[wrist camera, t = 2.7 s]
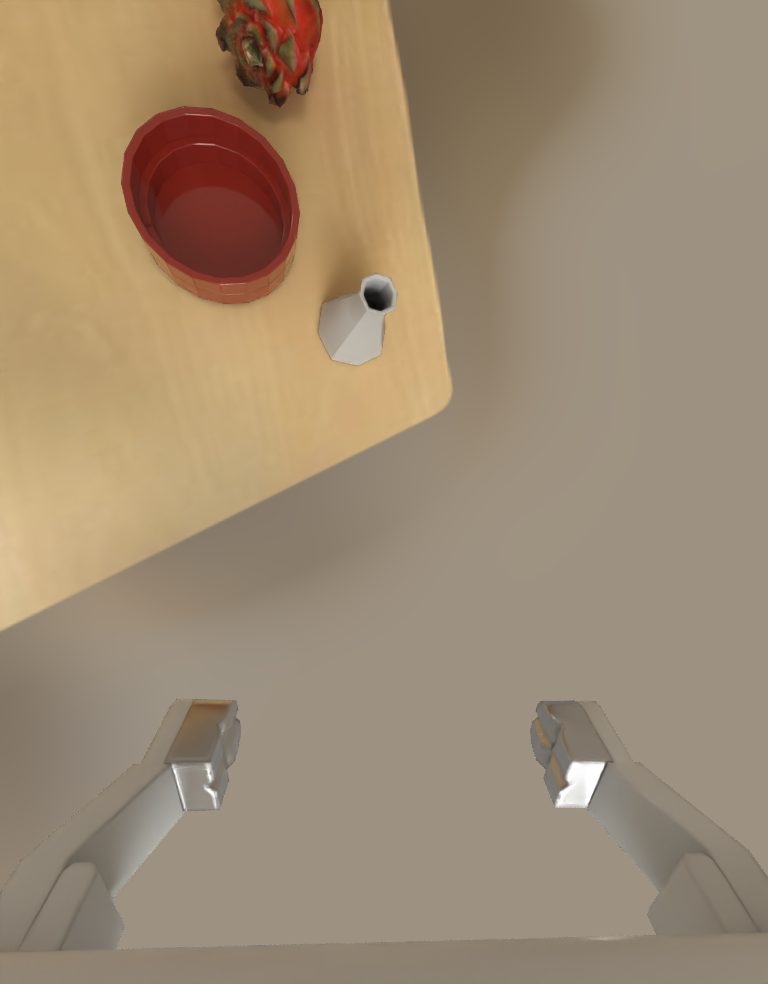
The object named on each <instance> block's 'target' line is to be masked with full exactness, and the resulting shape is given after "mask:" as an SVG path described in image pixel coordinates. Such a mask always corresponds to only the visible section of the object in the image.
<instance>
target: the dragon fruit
mask: <svg viewBox="0 0 768 984" xmlns="http://www.w3.org/2000/svg"><path fill="white" fill-rule="evenodd" d="M218 2H219V3H220V5H221V8H222V10H223V11H224V13H225V14H226V15H225V16H224V17H223V19H222V21H221V22H220V26H219V27H218V28H217V30H216V37H217V39H218V43H219V45H220V47H221V49H222V51H225V50H228V51H230V52H231V53H232V55H234V56H235V66H236V71H237V76H238V78H239V79H240V81H241V82H242V83H243V85H244V86H250V87H254V88H257V89H260V90H261V89H264V88H266V91H267V94H268V96H269V102H270V104H273V105H275V106H278V107H281V106H282V105H283V104H284V103H285V101H286V100H287V98H288V97H289V95H290V89H291V86H293V87H295V88H296V89H297V91H296V92H297V93H298V94H301V95H304V94H305V93H306V91H308V87H309V82H310V77H311V73H312V71H313V59H314V55H315V52H316V50H317V47H318V44H319V42H320V37H321V31H322V24H323V17H322V10H321V8H320V5H319V2H318V0H218Z"/></svg>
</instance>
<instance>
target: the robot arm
mask: <svg viewBox="0 0 768 984" xmlns="http://www.w3.org/2000/svg"><path fill="white" fill-rule="evenodd" d="M237 711H238V707H237V701H235V700H202V699H176V700H175V701H174V702H173V703H172V705H171V706H170V708H169V710H168V712H167V713H166V715H165V717H164V719H163V721H162V723H161V725H160V727H159V729H158V731H157V733H156V735H155V737H154V739H153V741H152V742H151V744H150V747H149V748H148V751H147V752H146V754H145V756H144V758H143V760H142V762H141V764H134V765H132V766H131V767H130V768H129V769H128V770H127V771H125V772H124V773H123V774H122V775H121V776H120V777H119V778H117V779H116V780H115V781H114V782H113V783H111V784H110V785H109V786H108V787H107V788H105V789H104V790H103V791H102V792H101V793H99V794H98V795H97V796H96V797H95V798H94V799H92V800H91V801H90V802H89V803H88V804H87V805H85V806H84V807H83V808H82V809H81V810H80V811H78V812H77V813H76V814H75V815H73V816H72V817H71V818H70V819H69V820H68V821H66V822H65V823H64V824H63V825H62V826H61V827H59V828H58V829H57V830H56V831H55V832H53V833H52V834H51V835H50V836H49V837H48V838H46V839H45V840H44V841H43V842H42V843H41V844H39V845H38V846H37V847H36V848H35V849H33V850H32V851H31V852H30V853H29V854H27V855H26V856H25V857H24V858H23V859H22V860H20V862H19V864H18V865H17V867H16V868H15V870H14V871H13V873H12V874H11V876H10V877H9V879H8V880H7V882H6V883H5V885H4V887H3V888H2V890H1V891H0V984H768V877H767V875H766V874H765V872H764V871H763V869H762V868H761V867H760V865H759V864H758V862H757V861H756V860H755V858H754V857H753V855H752V854H751V853H750V851H749V850H748V849H747V848H745V847H744V846H743V845H741V844H740V843H739V842H738V841H737V840H735V839H734V838H733V837H732V836H730V835H729V834H728V833H727V832H725V831H724V830H723V829H722V828H720V827H719V826H718V825H717V824H715V823H714V822H713V821H712V820H710V819H709V818H708V817H707V816H705V815H704V814H703V813H702V812H701V811H699V810H698V809H697V808H696V807H694V806H693V805H692V804H691V803H689V802H688V801H687V800H686V799H685V798H683V797H682V796H681V795H680V794H678V793H677V792H676V791H675V790H673V789H672V788H671V787H670V786H668V785H667V784H666V783H665V782H663V781H662V780H661V779H660V778H658V777H657V776H656V775H655V774H653V773H652V772H651V771H650V770H649V769H647V768H646V767H645V766H644V765H642V764H641V763H639V762H638V763H637V762H634V761H633V760H632V758H631V756H630V755H629V753H628V751H627V750H626V748H625V746H624V745H623V743H622V741H621V740H620V738H619V736H618V735H617V733H616V731H615V730H614V728H613V726H612V725H611V723H610V721H609V720H608V718H607V717H606V715H605V713H604V712H603V710H602V708H601V706H600V705H599V704H598V703H597V702H594V701H541V702H539V703H538V705H537V708H536V712H537V714H538V717H537V718H536V719H535V720H534V721H533V722H532V725H531V730H530V734H531V744H532V748H533V752H534V754H535V757H536V760H537V761H538V762H539V763H540V764H541V765H542V766H543V767H544V768H545V769H546V771H545V775H544V781H545V784H546V786H547V789H548V791H549V794H550V797H551V799H552V802H553V804H554V807H574V808H576V807H577V808H588V809H587V810H588V811H589V812H590V813H591V815H593V817H594V818H595V819H596V820H597V821H598V823H599V824H600V825H601V826H602V827H603V828H604V829H605V830H606V832H607V833H608V834H609V835H610V836H611V837H612V838H613V839H614V841H615V842H616V843H617V844H618V845H619V846H620V848H621V849H622V850H623V851H624V852H625V853H626V854H627V855H628V857H629V858H630V859H631V860H632V861H633V862H634V863H635V865H636V866H637V867H638V868H639V869H640V870H641V871H642V873H643V874H644V875H645V876H646V877H647V878H648V879H649V880H650V882H651V883H652V884H653V885H654V886H655V887H656V888H657V890H658V891H659V894H658V895H657V897H656V898H655V900H654V901H653V903H652V904H651V906H650V908H649V911H648V914H647V915H648V917H649V920H650V922H651V924H652V926H653V928H654V930H655V933H656V935H642V936H603V937H564V938H528V939H486V940H449V941H448V940H447V941H408V942H370V943H332V944H331V943H330V944H295V945H294V944H292V945H256V946H255V945H254V946H217V947H178V948H142V949H116V947H117V945H118V942H119V940H120V937H121V935H122V932H123V930H124V924H123V921H122V918H121V916H120V914H119V912H118V910H117V908H116V906H115V903H114V902H113V898H114V896H115V895H116V894H117V893H118V892H119V890H120V889H121V888H122V887H123V886H124V884H125V883H126V882H127V881H128V880H129V879H130V877H131V876H132V875H133V874H134V873H135V871H136V870H137V869H138V868H139V867H140V865H141V864H142V863H143V862H144V861H145V859H146V858H147V857H148V856H149V855H150V853H151V852H152V851H153V850H154V849H155V848H156V846H157V845H158V844H159V843H160V842H161V840H162V839H163V838H164V837H165V836H166V834H167V833H168V832H169V831H170V830H171V828H172V827H173V826H174V825H175V824H176V822H177V821H178V820H179V819H180V818H181V816H182V815H183V812H184V811H207V810H220V807H221V804H222V801H223V798H224V794H225V791H226V788H227V785H228V782H229V778H228V772H227V768H228V767H229V766H231V765H232V764H233V762H234V761H235V758H236V755H237V752H238V747H239V741H240V733H241V726H240V721H239V720H238V719H237V718H236V714H237Z"/></svg>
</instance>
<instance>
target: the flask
mask: <svg viewBox="0 0 768 984" xmlns="http://www.w3.org/2000/svg"><path fill="white" fill-rule="evenodd" d="M397 294H398V293H397V291H396V289H395V286H394V284H393V282H392V279H391V278H389V277H386V276H383V275H380V274H377V273H375V274H373V275H371V276H368V277H366V278H364V279H362V280H361V287H360V291H359V292H358V293H346V294H344V295H342V296H339V297H337V298H335V299H332V300H330V301H328V302H325V303H323V304H322V309H321V315H320V322H319V329H318V334H319V336H320V338H321V340H322V342H323V344H324V346H325V348H326V350H327V352H328V354H329V356H330V358H331V359H332V360H336V361H340V362H344V363H348V364H352V365H357V366H359V365H361V364H363V363H365V362H367V361H369V360H371V359H373V358H375V357H378V356H380V355H381V353H382V346H383V340H384V334H385V319H384V316H385V314H387V313H389V312H392V311H394V310H395V307H396V300H397Z"/></svg>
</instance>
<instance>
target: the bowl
mask: <svg viewBox="0 0 768 984" xmlns="http://www.w3.org/2000/svg"><path fill="white" fill-rule="evenodd" d="M121 185H122V189H123V194H124V198H125V202H126V207H127V211H128V214H129V215H130V217H131V219H132V221H133V222H134V224H135V226H136V228H137V229H138V231H139V233H140V235H141V237H142V238H143V240H144V242H145V244H146V245H147V247H148V249H149V251H150V252H151V254H152V256H153V258H154V259H155V261H156V263H157V265H158V266H159V267H160V268H161V269H162V270H163V271H164V272H165V273H166V274H167V275H168V276H169V277H170V278H171V279H172V280H173V281H174V282H175V283H176V284H178V285H179V286H181V287H183V288H184V289H186V290H188V291H190V292H191V293H193V294H195V295H196V296H198V297H201V298H203V299H207V300H211V301H215V302H219V303H223V304H230V303H247V302H250V301H253V300H255V299H258V298H260V297H263V296H265V295H268V294H269V293H270V292H271V291H272V290H273V289H274V288H275V287H276V286H277V285H279V284H280V283H281V282H282V281H283V280H284V278H285V276H286V274H287V272H288V270H289V268H290V266H291V264H292V262H293V258H294V251H295V245H296V239H297V231H298V224H299V216H300V211H299V205H298V199H297V193H296V188H295V185H294V183H293V180H292V178H291V176H290V174H289V172H288V170H287V168H286V165H285V163H284V161H283V160H282V158H281V157H280V156H279V155H278V154H277V152H276V151H275V150H274V149H273V147H272V146H271V145H270V144H269V143H268V141H267V140H266V139H265V138H264V137H263V136H262V135H260V134H259V133H258V132H256V131H255V130H254V129H252V128H251V127H250V126H248V125H247V124H245V123H244V122H243V121H241V120H239V119H238V118H236V117H233V116H231V115H228V114H225V113H223V112H220V111H218V110H215V109H213V108H212V109H211V108H201V107H187V106H184V107H179V108H175V109H172V110H168V111H165V112H161V113H158V114H156V115H155V116H154V117H152V118H151V119H150V120H149V121H147V122H146V123H145V124H144V125H142V126H141V127H140V128H139V129H137V131H136V132H135V134H134V136H133V138H132V140H131V142H130V143H129V145H128V147H127V149H126V151H125V153H124V158H123V168H122V178H121Z"/></svg>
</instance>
